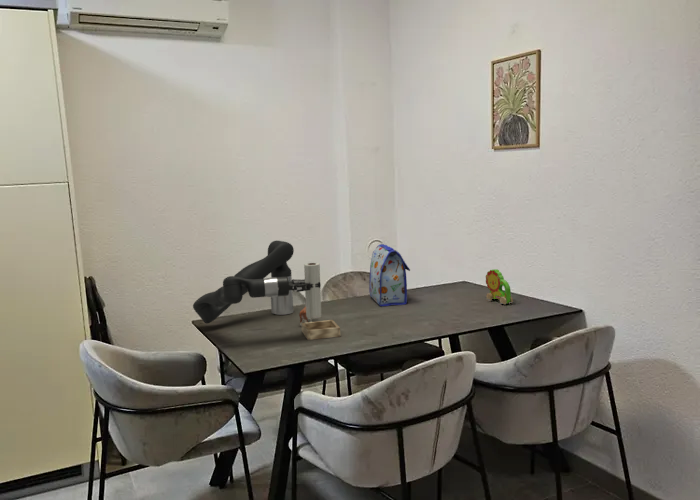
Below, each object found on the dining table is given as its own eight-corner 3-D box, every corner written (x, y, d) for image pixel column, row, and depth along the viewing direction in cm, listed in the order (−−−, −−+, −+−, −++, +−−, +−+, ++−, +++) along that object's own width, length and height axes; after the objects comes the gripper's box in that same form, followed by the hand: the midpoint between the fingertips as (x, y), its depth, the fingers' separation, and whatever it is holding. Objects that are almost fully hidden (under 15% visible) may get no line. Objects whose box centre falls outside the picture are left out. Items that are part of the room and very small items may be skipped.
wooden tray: (307, 340, 240) (307, 331, 240) (301, 331, 252) (301, 323, 252) (340, 336, 243) (340, 327, 243) (332, 328, 256) (332, 319, 255)
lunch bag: (413, 304, 292) (411, 248, 288) (379, 307, 288) (377, 250, 284) (398, 294, 314) (397, 242, 310) (367, 297, 310) (365, 244, 306)
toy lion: (513, 304, 283) (513, 271, 281) (504, 306, 281) (504, 273, 279) (492, 298, 298) (491, 266, 296) (482, 299, 296) (482, 268, 293)
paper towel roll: (315, 314, 250) (313, 261, 247) (324, 316, 246) (322, 263, 242) (300, 317, 245) (298, 264, 242) (310, 320, 241) (308, 265, 238)
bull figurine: (318, 319, 271) (317, 301, 269) (306, 327, 258) (305, 308, 257) (309, 319, 272) (308, 301, 271) (296, 327, 259) (295, 308, 258)
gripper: (273, 292, 248) (316, 289, 252) (278, 300, 234) (323, 296, 238) (273, 274, 247) (315, 271, 251) (277, 280, 233) (322, 277, 237)
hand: (319, 283), depth 245 cm, fingers closed on paper towel roll, 3 cm apart
